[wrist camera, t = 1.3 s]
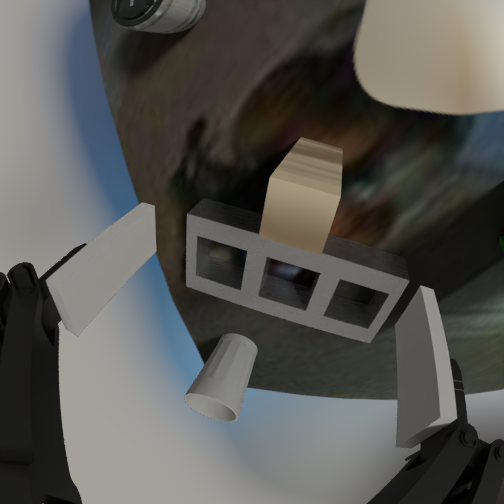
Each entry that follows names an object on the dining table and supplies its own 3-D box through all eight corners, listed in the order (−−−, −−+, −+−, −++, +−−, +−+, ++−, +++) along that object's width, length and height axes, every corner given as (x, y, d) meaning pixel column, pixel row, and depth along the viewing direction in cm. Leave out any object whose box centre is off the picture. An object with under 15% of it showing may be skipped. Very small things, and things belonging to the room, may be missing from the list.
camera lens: (154, 39, 23) (102, 36, 17) (156, -11, 19) (107, -23, 13) (208, 31, 21) (163, 21, 15) (211, -21, 18) (168, -44, 12)
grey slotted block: (203, 198, 32) (187, 213, 29) (404, 257, 28) (409, 280, 25) (199, 267, 38) (186, 285, 35) (370, 319, 34) (369, 343, 31)
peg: (300, 137, 25) (269, 177, 16) (342, 148, 25) (340, 197, 15) (292, 175, 28) (258, 236, 18) (332, 187, 27) (321, 255, 17)
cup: (267, 340, 42) (242, 409, 33) (257, 366, 47) (234, 427, 37) (217, 322, 43) (183, 386, 34) (213, 350, 48) (184, 407, 38)
